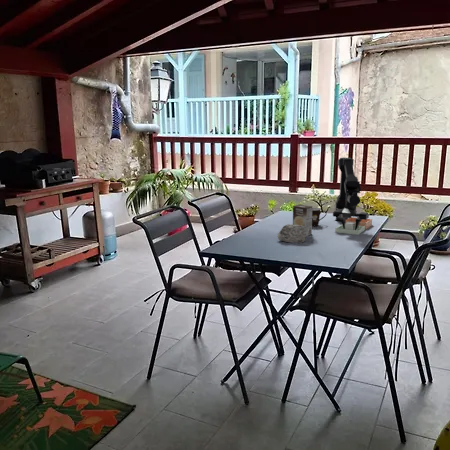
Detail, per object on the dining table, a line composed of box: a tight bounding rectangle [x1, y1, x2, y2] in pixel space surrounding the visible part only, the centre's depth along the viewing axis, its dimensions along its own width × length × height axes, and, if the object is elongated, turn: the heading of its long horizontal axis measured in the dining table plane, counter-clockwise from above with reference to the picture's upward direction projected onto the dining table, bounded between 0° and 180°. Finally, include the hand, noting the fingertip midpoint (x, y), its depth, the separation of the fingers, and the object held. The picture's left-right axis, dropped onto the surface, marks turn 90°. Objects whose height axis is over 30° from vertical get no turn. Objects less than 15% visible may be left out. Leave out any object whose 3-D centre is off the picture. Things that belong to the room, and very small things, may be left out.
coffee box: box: [292, 204, 313, 238], centre depth 253 cm, size 9×6×16 cm
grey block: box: [345, 222, 356, 230], centre depth 258 cm, size 4×4×4 cm
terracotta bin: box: [346, 216, 373, 230], centre depth 269 cm, size 13×12×4 cm
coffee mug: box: [312, 207, 327, 228], centre depth 274 cm, size 12×9×10 cm
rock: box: [277, 224, 308, 244], centre depth 241 cm, size 16×8×10 cm, turn 61°
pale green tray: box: [334, 224, 366, 235], centre depth 258 cm, size 13×12×2 cm
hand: (350, 229), depth 258 cm, fingers open, 6 cm apart
